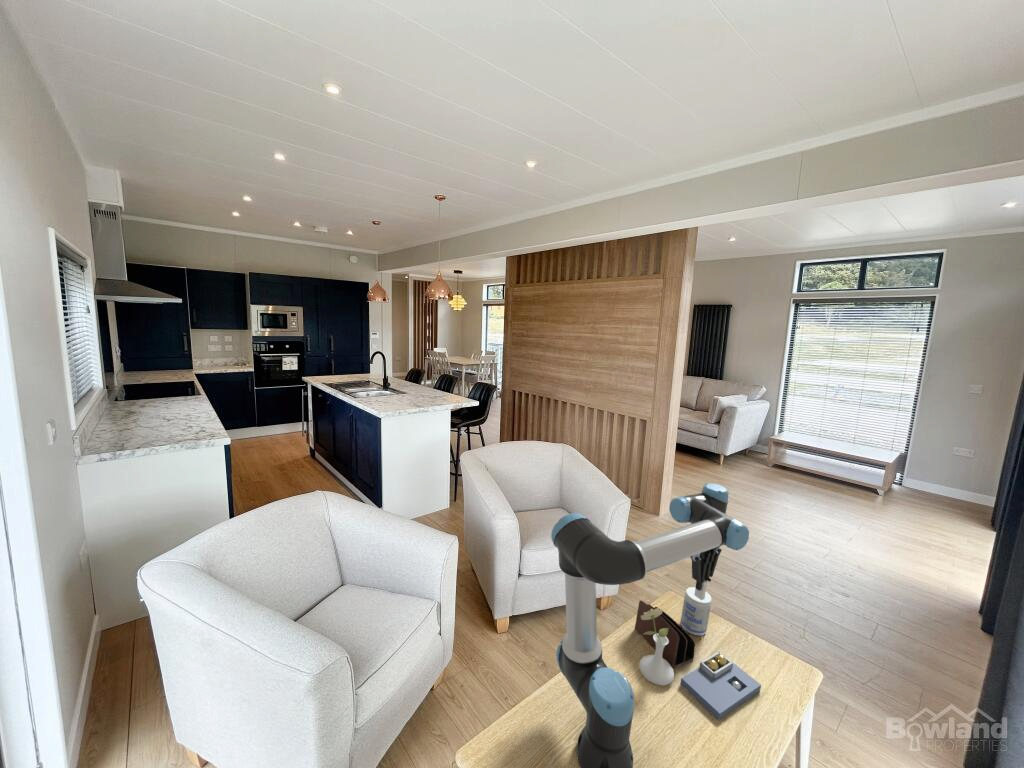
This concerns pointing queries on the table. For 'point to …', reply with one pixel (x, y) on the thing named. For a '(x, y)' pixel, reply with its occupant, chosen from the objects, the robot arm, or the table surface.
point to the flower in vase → (656, 655)
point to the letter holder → (679, 639)
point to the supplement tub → (695, 612)
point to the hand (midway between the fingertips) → (699, 597)
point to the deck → (720, 687)
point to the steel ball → (736, 685)
